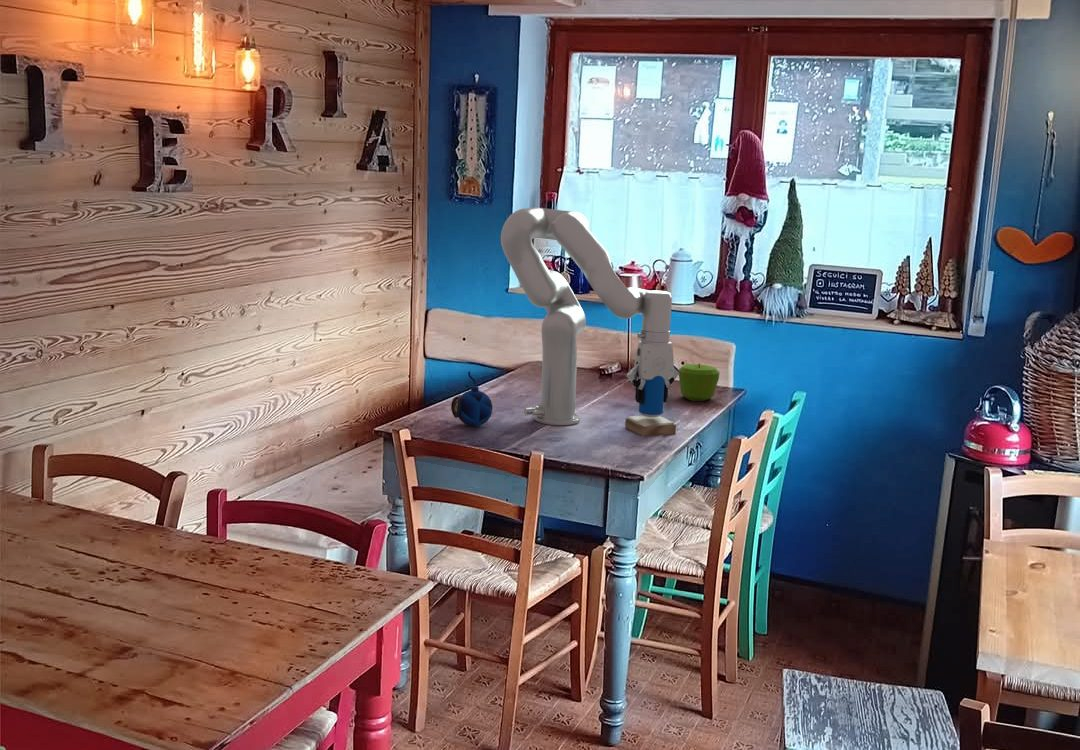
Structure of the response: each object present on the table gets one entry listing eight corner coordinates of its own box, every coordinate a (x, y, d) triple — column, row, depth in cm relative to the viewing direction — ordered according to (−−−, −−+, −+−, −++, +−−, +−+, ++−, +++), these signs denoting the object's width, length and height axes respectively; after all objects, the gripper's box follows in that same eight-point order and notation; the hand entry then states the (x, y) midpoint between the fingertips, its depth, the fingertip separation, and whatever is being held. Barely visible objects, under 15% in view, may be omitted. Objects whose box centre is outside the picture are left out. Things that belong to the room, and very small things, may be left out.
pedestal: (643, 436, 291) (643, 425, 290) (625, 427, 300) (625, 416, 299) (675, 433, 295) (676, 422, 294) (656, 424, 304) (657, 414, 303)
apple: (724, 402, 334) (727, 366, 332) (689, 404, 330) (692, 367, 328) (704, 393, 346) (706, 358, 343) (670, 395, 341) (672, 359, 339)
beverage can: (662, 412, 299) (665, 369, 297) (662, 418, 293) (665, 374, 290) (638, 411, 300) (641, 368, 297) (638, 417, 294) (640, 373, 291)
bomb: (447, 422, 297) (448, 368, 294) (485, 420, 301) (487, 367, 298) (457, 431, 288) (458, 376, 285) (496, 429, 292) (498, 374, 289)
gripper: (633, 340, 285) (629, 407, 289) (690, 338, 292) (685, 403, 296) (620, 335, 292) (616, 400, 295) (675, 333, 299) (671, 397, 303)
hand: (651, 401), depth 296 cm, fingers closed on beverage can, 6 cm apart
